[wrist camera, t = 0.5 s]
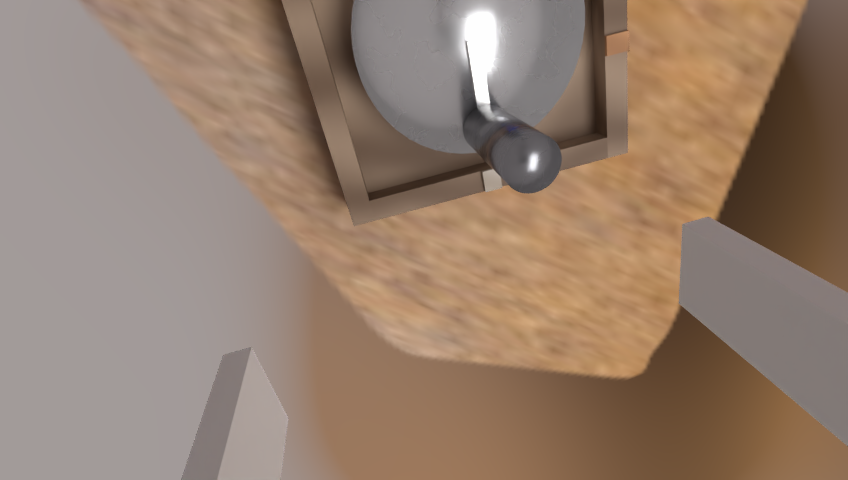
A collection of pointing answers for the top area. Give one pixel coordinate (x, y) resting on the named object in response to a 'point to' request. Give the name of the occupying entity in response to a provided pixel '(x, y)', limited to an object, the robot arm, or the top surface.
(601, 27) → the dial panel
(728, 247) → the robot arm
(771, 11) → the top surface
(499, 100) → the dial
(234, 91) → the top surface
